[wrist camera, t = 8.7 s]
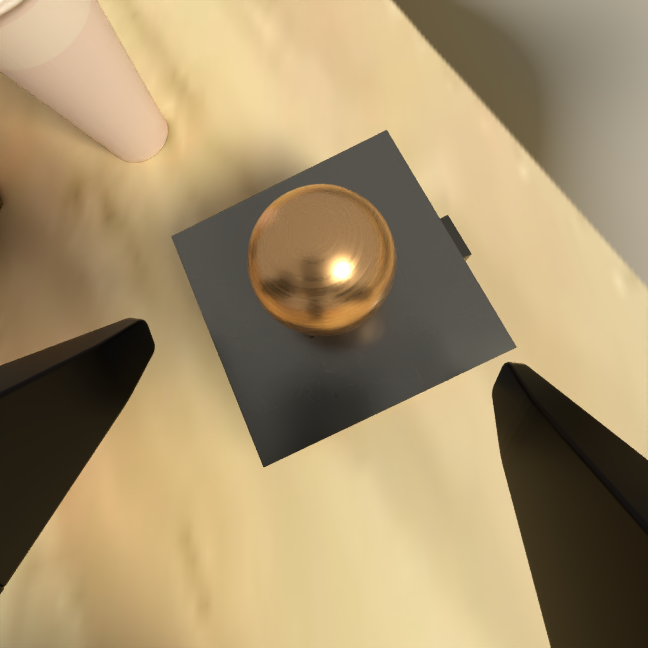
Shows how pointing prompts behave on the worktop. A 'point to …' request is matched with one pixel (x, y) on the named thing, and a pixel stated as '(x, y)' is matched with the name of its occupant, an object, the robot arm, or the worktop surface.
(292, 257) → the copper ball knob
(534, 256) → the worktop surface
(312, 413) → the copper ball lever box
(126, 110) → the smoothie
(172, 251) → the worktop surface
